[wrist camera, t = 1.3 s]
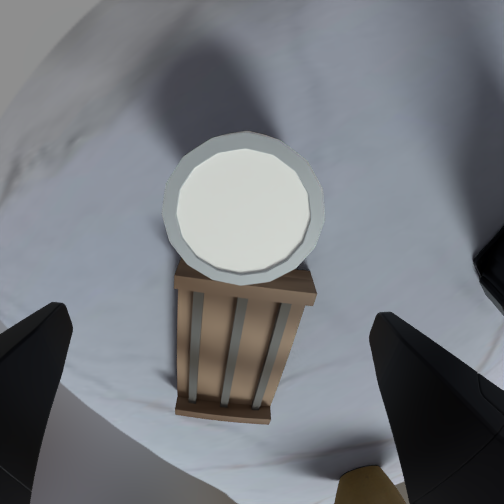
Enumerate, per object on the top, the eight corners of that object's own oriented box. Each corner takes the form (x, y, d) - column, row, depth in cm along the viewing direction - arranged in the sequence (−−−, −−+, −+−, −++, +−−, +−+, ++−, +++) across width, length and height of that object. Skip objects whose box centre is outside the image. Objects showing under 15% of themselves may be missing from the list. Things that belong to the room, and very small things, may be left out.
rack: (182, 253, 21) (174, 275, 19) (309, 270, 22) (317, 293, 20) (179, 392, 29) (175, 414, 26) (267, 402, 29) (268, 424, 27)
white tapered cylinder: (191, 224, 20) (167, 283, 14) (190, 119, 17) (157, 132, 11) (295, 228, 21) (314, 289, 14) (305, 124, 17) (335, 139, 11)
